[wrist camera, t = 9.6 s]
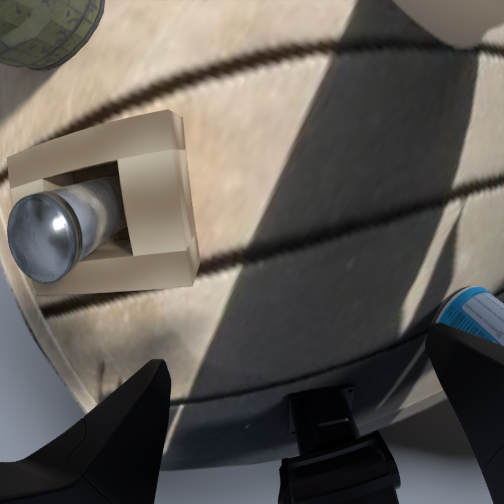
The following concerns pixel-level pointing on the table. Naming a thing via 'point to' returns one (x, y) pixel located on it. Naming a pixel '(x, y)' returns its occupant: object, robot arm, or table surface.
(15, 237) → the key peg
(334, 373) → the table surface
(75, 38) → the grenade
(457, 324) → the beverage bottle
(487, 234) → the table surface
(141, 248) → the block
